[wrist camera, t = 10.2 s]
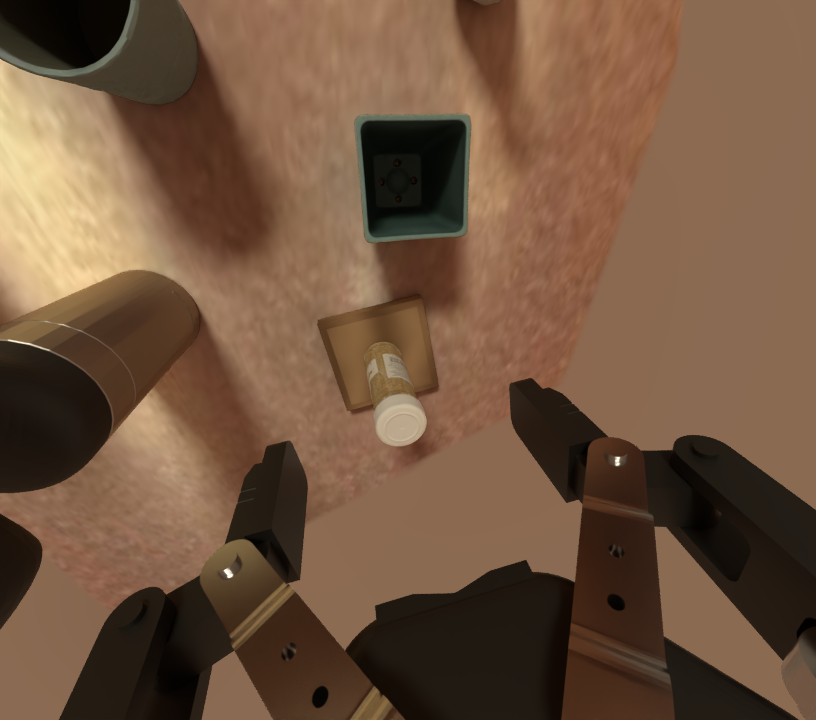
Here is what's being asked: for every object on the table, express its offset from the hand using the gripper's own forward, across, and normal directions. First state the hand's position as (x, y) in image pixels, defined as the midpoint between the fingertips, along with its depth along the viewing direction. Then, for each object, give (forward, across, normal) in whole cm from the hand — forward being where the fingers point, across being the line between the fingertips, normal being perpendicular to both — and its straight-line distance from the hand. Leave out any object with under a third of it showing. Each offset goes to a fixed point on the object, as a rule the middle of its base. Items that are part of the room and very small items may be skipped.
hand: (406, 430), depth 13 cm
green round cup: (+30, +12, -21) cm, 38 cm away
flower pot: (+30, -6, -7) cm, 31 cm away
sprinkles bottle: (+28, 0, +11) cm, 30 cm away
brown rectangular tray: (+29, 0, +11) cm, 31 cm away
